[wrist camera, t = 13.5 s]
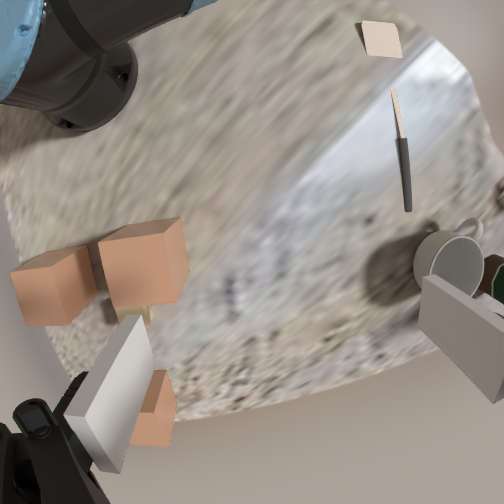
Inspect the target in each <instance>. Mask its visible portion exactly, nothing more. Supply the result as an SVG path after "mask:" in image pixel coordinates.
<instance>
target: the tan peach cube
mask: <svg viewBox="0 0 504 504" xmlns="http://www.w3.org/2000/svg"><path fill="white" fill-rule="evenodd" d="M177 404H178V403H177V401H176V398H175V395H174V392H173V389H172V386H171V382H170V379H169V376H168V373H167V370H154V372H153V375H152V378H151V381H150V383H149V386H148V389H147V392H146V395H145V398H144V401H143V404H142V407H141V410H140V413H139V416H138V419H137V422H136V425H135V428H134V431H133V434H132V437H131V440H130V443H129V444H130V445H145V446H146V445H147V446H169V443H170V438H171V433H172V427H173V423H174V418H175V413H176V408H177Z"/></svg>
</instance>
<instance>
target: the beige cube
mask: <svg viewBox="0 0 504 504" xmlns="http://www.w3.org/2000/svg"><path fill="white" fill-rule="evenodd" d="M115 311H116V314H117V318H118V321H119V324H120V323H121V322H122V320H123V319H124V317H125V316H126V315H135V314H142V318H143V322H144V325H145V329H148V327H149V325H150V323H151V321H152V319H153V317H154V316H153V312H152V308H151V305H143V306H131V307H118V308H115Z"/></svg>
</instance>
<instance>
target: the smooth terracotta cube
mask: <svg viewBox="0 0 504 504" xmlns="http://www.w3.org/2000/svg"><path fill="white" fill-rule="evenodd" d="M98 247H99V251H100V256H101V260H102V265H103V269H104V273H105V277H106V281H107V285H108V289H109V293H110V297H111V300H112V304H113V308H118V307H131V306H143V305H155V304H166V303H177V301H178V298H179V296H180V294H181V291H182V289H183V286H184V284H185V282H186V279H187V277H188V274H189V272H190V270H189V265H188V259H187V253H186V247H185V241H184V234H183V228H182V221H181V217H177V218H170V219H163V220H156V221H149V222H143V223H136V224H130V225H127V226H125V227H123V228H121V229H120V230H118V231H116V232H115V233H113V234H111V235H109V236H108V237H106V238H104V239H103V240H101V241H99V242H98Z"/></svg>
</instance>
